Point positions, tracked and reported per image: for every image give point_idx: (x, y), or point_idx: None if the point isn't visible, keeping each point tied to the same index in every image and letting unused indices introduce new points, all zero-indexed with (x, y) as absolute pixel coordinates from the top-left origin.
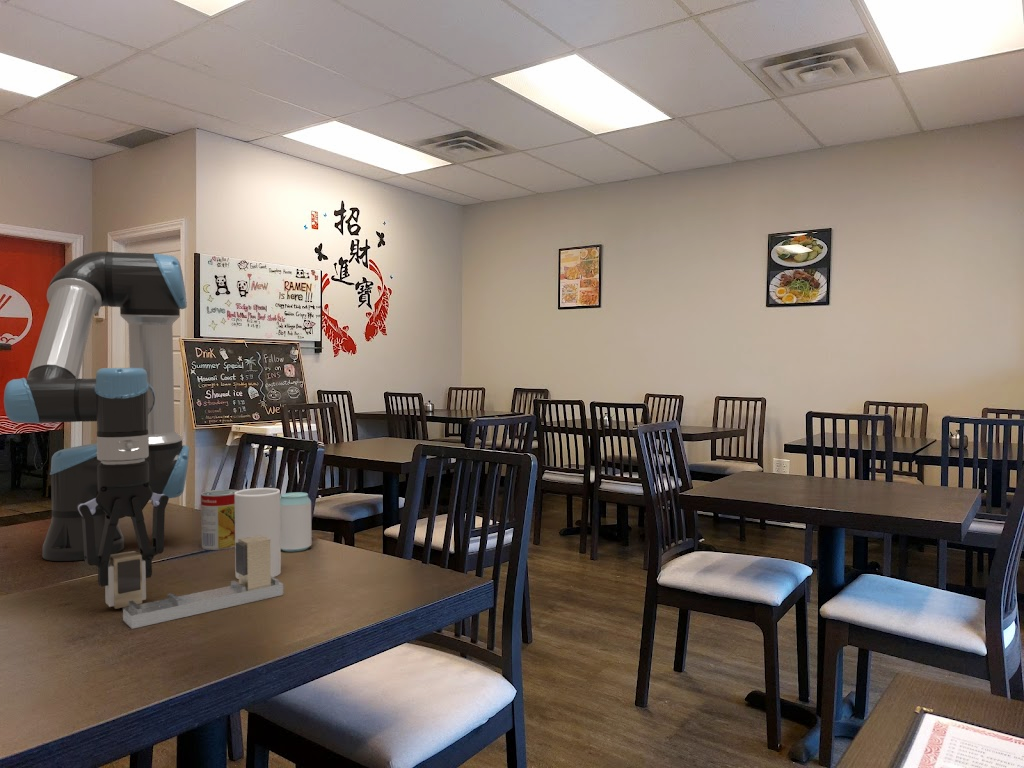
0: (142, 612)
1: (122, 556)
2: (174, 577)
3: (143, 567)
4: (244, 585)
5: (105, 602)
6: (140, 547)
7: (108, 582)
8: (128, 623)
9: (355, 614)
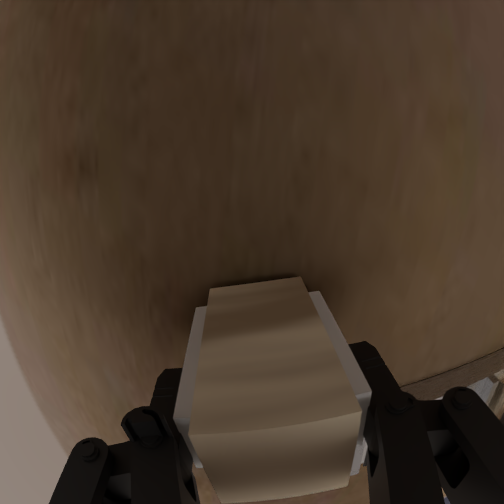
0: None
1: (264, 480)
2: (447, 55)
3: None
4: (489, 405)
5: (195, 309)
6: (376, 473)
7: None
8: None
9: None
